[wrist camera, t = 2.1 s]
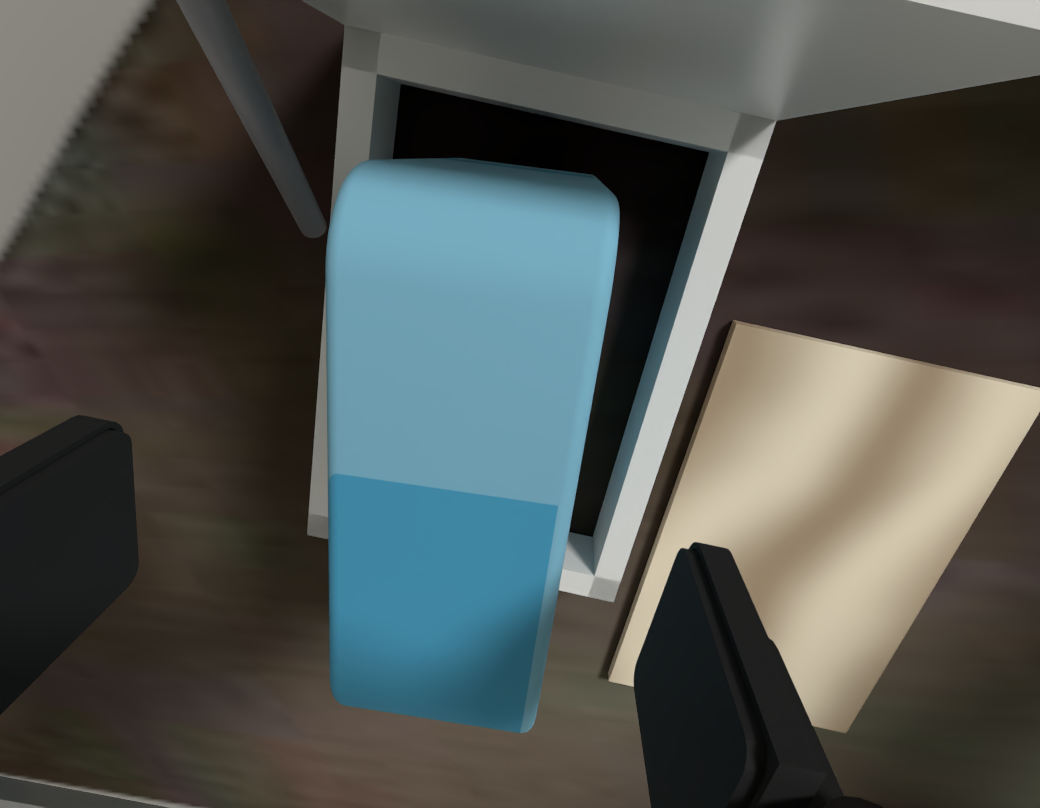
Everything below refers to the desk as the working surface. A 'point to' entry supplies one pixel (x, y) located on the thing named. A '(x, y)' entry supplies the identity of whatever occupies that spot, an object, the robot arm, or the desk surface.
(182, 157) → the desk surface
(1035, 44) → the stand
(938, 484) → the birch board
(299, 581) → the desk surface
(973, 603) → the desk surface
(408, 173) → the data package
